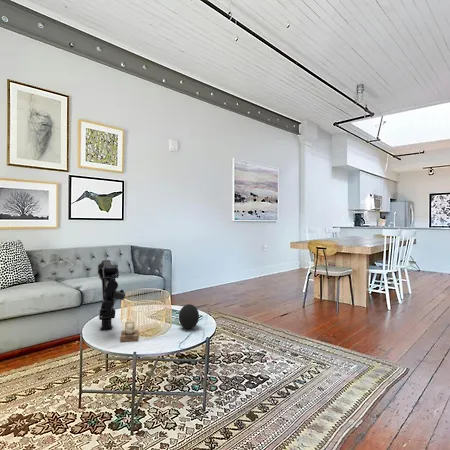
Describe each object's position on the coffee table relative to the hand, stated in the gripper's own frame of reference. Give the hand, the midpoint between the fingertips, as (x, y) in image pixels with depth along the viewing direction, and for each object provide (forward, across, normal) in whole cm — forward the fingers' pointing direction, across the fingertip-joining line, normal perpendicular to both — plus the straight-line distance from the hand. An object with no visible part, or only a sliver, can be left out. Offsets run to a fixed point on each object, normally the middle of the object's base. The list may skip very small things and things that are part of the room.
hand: (109, 314), depth 185 cm
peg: (+12, -6, -11) cm, 18 cm away
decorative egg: (+13, +4, -46) cm, 48 cm away
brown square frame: (+12, -6, -11) cm, 18 cm away
